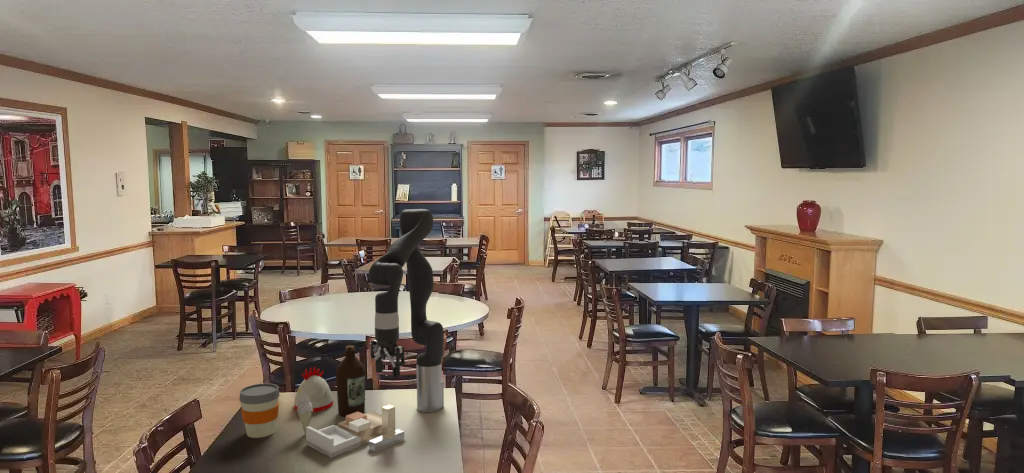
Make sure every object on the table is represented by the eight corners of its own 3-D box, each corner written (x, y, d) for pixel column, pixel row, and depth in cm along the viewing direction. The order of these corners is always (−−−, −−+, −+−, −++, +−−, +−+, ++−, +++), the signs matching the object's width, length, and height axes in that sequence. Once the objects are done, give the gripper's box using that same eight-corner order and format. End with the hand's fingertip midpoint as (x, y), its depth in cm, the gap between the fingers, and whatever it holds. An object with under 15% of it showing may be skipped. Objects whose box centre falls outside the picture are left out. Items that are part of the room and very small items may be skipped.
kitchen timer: (289, 404, 232) (287, 366, 230) (324, 396, 241) (322, 359, 239) (303, 415, 221) (301, 375, 220) (338, 406, 230) (337, 368, 229)
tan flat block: (372, 421, 216) (372, 411, 215) (393, 431, 208) (393, 419, 208) (338, 434, 205) (338, 423, 205) (359, 444, 197) (359, 432, 197)
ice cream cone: (297, 438, 202) (295, 394, 201) (298, 431, 207) (297, 389, 206) (313, 436, 204) (311, 393, 202) (314, 430, 208) (312, 387, 207)
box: (336, 433, 206) (335, 416, 205) (360, 445, 197) (360, 428, 196) (306, 444, 197) (306, 426, 197) (331, 457, 188) (330, 439, 188)
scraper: (369, 449, 194) (368, 410, 193) (398, 437, 203) (398, 399, 202) (376, 453, 192) (376, 413, 190) (406, 440, 201) (405, 402, 199)
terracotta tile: (358, 417, 210) (358, 411, 210) (366, 420, 207) (366, 415, 207) (345, 421, 206) (345, 415, 206) (354, 425, 203) (354, 419, 203)
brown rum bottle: (331, 412, 224) (329, 346, 222) (357, 405, 231) (355, 340, 229) (345, 421, 217) (344, 352, 214) (371, 413, 224) (370, 346, 221)
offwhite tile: (361, 423, 205) (361, 417, 204) (370, 427, 201) (370, 421, 201) (349, 428, 201) (348, 422, 201) (358, 432, 198) (357, 426, 197)
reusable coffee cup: (266, 441, 200) (265, 397, 198) (232, 438, 202) (230, 394, 201) (288, 426, 212) (286, 384, 210) (255, 423, 214) (254, 381, 213)
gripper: (410, 326, 191) (411, 377, 193) (382, 319, 201) (383, 367, 202) (391, 331, 186) (392, 383, 187) (363, 323, 195) (364, 373, 197)
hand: (387, 375), depth 195 cm, fingers open, 8 cm apart
